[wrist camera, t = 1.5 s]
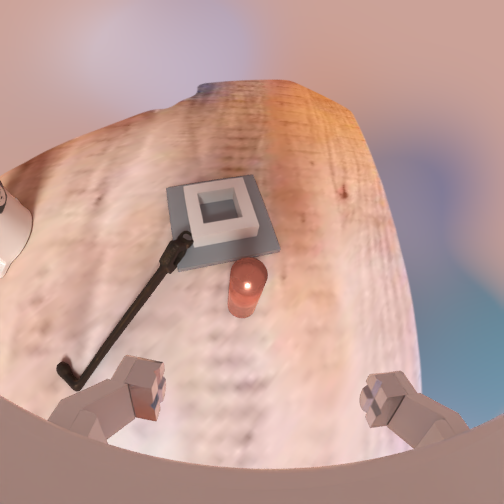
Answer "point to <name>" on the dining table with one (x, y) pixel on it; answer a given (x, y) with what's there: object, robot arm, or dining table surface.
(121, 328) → the black hooked rod
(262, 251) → the socket board
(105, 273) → the dining table surface
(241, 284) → the pin
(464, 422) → the robot arm
